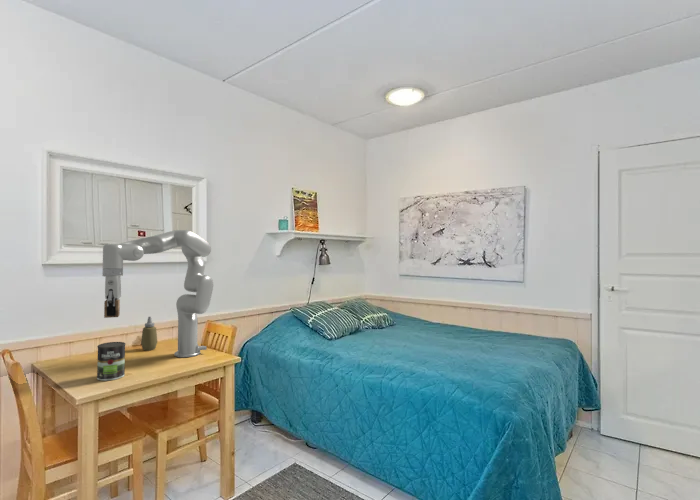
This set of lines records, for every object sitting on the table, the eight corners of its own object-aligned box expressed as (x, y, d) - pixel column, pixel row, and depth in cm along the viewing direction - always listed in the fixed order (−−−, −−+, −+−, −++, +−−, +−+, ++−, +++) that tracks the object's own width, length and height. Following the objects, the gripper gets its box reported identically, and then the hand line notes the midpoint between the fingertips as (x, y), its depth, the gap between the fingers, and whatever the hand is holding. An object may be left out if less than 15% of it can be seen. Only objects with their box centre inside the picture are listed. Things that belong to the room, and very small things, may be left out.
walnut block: (119, 315, 169) (119, 299, 169) (117, 317, 164) (118, 300, 164) (106, 315, 167) (106, 299, 167) (104, 317, 162) (104, 301, 162)
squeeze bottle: (144, 347, 214) (145, 315, 214) (159, 347, 215) (160, 315, 215) (138, 351, 206) (138, 318, 206) (153, 351, 207) (154, 318, 207)
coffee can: (124, 378, 163) (124, 345, 163) (95, 382, 159) (95, 348, 159) (125, 371, 173) (126, 340, 173) (98, 375, 168) (98, 342, 168)
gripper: (120, 273, 159) (119, 317, 159) (125, 271, 175) (124, 311, 175) (98, 274, 156) (98, 318, 156) (105, 271, 172) (105, 312, 172)
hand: (112, 314), depth 166 cm, fingers closed on walnut block, 5 cm apart
